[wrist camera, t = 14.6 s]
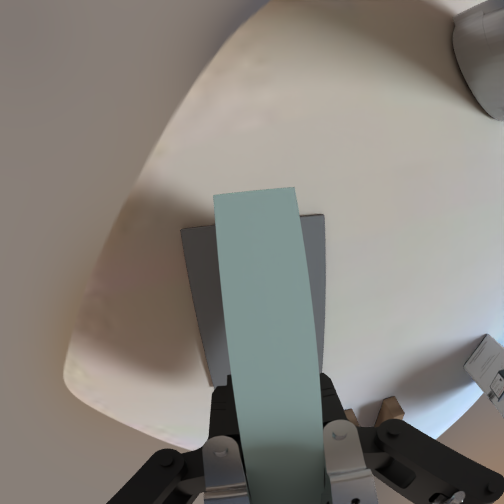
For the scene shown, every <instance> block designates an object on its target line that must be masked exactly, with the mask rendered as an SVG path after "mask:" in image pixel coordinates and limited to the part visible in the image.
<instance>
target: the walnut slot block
mask: <svg viewBox="0 0 504 504" xmlns="http://www.w3.org/2000/svg"><path fill="white" fill-rule="evenodd" d="M344 412H345V414H346V417H347V419H348V420H349V421H350V422H351V423H353V424H354V425H356V426H359V424H358V421H357V419H356V417H355V414H354V412H353V410H352V409H349V410H345V411H344ZM404 414H405V413H404V411H403V410H402V408H401V406H400V405H399V403H398V401H397V400H396V398H395V396H393V397H390V398H387V399H384V400H383V403H382V406H381V409H380V412H379V415H378V418H377V420H376V423H375V426H374V427H379V426H380V424H381V423H382V422H384V421H386V420H388V419H400V420H402V419H403V416H404ZM359 427H360V426H359Z"/></svg>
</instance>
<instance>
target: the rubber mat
mask: <svg viewBox="0 0 504 504" xmlns="http://www.w3.org/2000/svg"><path fill="white" fill-rule="evenodd" d="M300 222H301V228H302V234H303V241H304V247H305V254H306V261H307V268H308V275H309V282H310V290H311V298H312V306H313V315H314V324H315V333H316V343H317V353H318V365H319V373H322V364H323V348H324V327H325V287H326V259H325V218H324V215H323V214H322V215H310V216H300ZM180 231H181V237H182V243H183V249H184V255H185V260H186V266H187V271H188V277H189V282H190V287H191V292H192V297H193V302H194V307H195V311H196V316H197V321H198V325H199V330H200V334H201V338H202V343H203V347H204V351H205V355H206V359H207V363H208V367H209V371H210V375H211V378H212V382H213V386H214V390H215V389H216V387H217V386H225V385H227V375H229V374H231V368H230V361H229V353H228V345H227V336H226V328H225V319H224V310H223V301H222V291H221V281H220V271H219V260H218V249H217V237H216V225H211V226H202V227H194V228H186V229H181V230H180Z"/></svg>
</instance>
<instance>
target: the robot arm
mask: <svg viewBox="0 0 504 504" xmlns="http://www.w3.org/2000/svg"><path fill="white" fill-rule="evenodd" d="M453 20H454V23H455V29H454V32H453V46H454V51H455V55H456V58H457V61H458V64H459V66H460V69H461V72H462V74H463V76H464V78H465V80H466V82H467V84H468V86H469V88H470V89H471V91H472V93H473V95H474V96H475V98H476V99H477V100H478V102H479V103H480V105H481V106H482V107H483V108H484V109H485V111H486V112H487V113H488V114H489V115H491V116H492V117H493V118H495V119H497V120H498V121H504V0H487V1H485V2H482V3H480V4H478V5H476V6H474V7H472V8H470V9H467V10H465V11H463V12H461V13H459V14H457V15H456V16H454V17H453ZM319 377H320V390H321V405H322V424H323V449H324V491H323V493H321V502H320V504H378V499H377V494H376V489H375V484H374V479H373V475H374V476H376V477H377V478H378V479H380V480H381V481H382V482H383V483H385V484H386V485H388V486H389V487H391V488H392V489H393V490H395V491H396V492H398V493H399V494H401V495H402V496H404V497H405V498H407V499H408V500H410V501H411V502H413V503H414V504H492V503H494V502H495V501H496V500H498V499H499V498H500V496H502V494H503V492H504V477H503V476H502V475H501V474H499V473H497V472H495V471H492V470H490V469H488V468H486V467H484V466H482V465H480V464H479V463H477V462H474V461H473V460H471V459H469V458H467V457H465V456H463V455H461V454H459V453H458V452H456V451H454V450H452V449H450V448H449V447H447V446H445V445H443V444H441V443H440V442H438V441H436V440H435V439H433V438H431V437H430V436H428V435H426V434H424V433H423V432H421V431H419V430H418V429H416V428H414V427H413V426H411V425H410V424H408V423H406V422H405V421H403V420H400V419H388V420H386V421H384V422H382V423H381V424H380V426H379V427H359V426H356V425H354V424H353V423H351V422H350V421H349V420H348V419H347V417H346V414H345V412H344V409H343V407H342V405H341V402H340V400H339V397H338V395H337V393H336V390H335V389H334V386H333V383H332V381H331V379H330V378H329V377H328V376H327V375H326V374H324V373H319ZM372 474H373V475H372ZM202 492H204V504H253V503H252V500H251V495H250V489H249V484H248V479H247V474H246V467H245V462H244V456H243V450H242V444H241V437H240V431H239V425H238V418H237V412H236V405H235V398H234V391H233V383H232V376H231V374H229V375H227V385H225V386H217V387H216V389H215V390H214V392H213V393H212V400H211V412H210V425H209V437H208V440H207V441H206V442H205V444H204V445H203V446H202V447H201V448H199V449H197V450H194V451H190V452H186V453H182V454H181V453H179V452H178V451H176V450H173V449H162V450H159V451H157V452H155V453H154V454H153V455H152V456H151V457H150V458H149V460H148V461H147V462H146V463H145V464H144V465H143V466H142V467H141V468H140V469H139V470H138V472H137V473H136V474H135V475H134V476H133V477H132V478H131V479H130V480H129V481H128V482H127V483H126V484H125V485H124V486H123V487H122V488H121V489H120V490H119V491H118V492H117V493H116V494H115V495H114V496H113V497H112V498H111V499H110V501H108V502H107V503H106V504H192V503H193V502H194V500H195V499H196V498H197V496H198V495H199V493H202Z"/></svg>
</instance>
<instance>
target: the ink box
mask: <svg viewBox="0 0 504 504" xmlns="http://www.w3.org/2000/svg"><path fill="white" fill-rule="evenodd" d="M464 369H465V370H466V372H467V373H468V374H469V375H470V376H471V377H472V379H473V380H474V381H475V382H476V383H477V385H478V386H479V387H480V388H481V389H482V391H483V392H484V393H485V394H486V396H487V397H488V398H489V399H490V401H491V402H492V403H493V404H494V406H495V407H496V408H497V410H498V411H499V412H500V414H501V415H502V417H503V418H504V347H503V346H502V345H501V344H499V343H498V342H497V341H496V340H495V339H494V338H492V337H491V336H490V335H489V334H487V336H486V337H485V339H484V340H483V341H482V343H481V344H480V345H479V347H478V348H477V349H476V351H475V352H474V353H473V355H472V356H471V357H470V359H469V360H468V361H467V363H466V364H465V365H464Z"/></svg>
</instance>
